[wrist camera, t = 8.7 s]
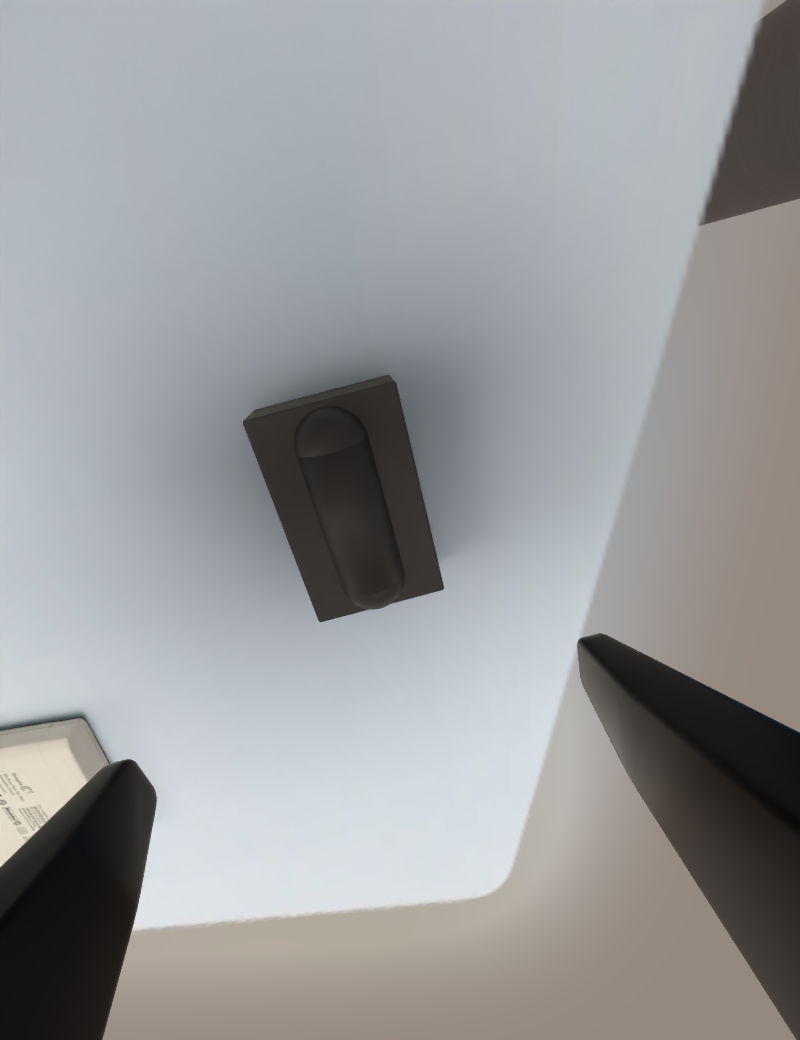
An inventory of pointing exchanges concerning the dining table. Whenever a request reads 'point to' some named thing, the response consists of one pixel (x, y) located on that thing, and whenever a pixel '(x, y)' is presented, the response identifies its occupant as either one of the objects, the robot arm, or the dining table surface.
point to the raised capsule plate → (348, 496)
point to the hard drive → (42, 775)
